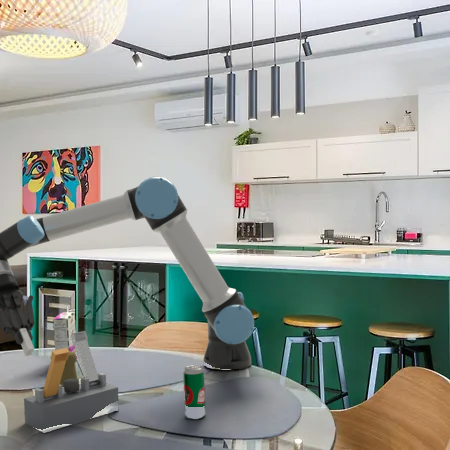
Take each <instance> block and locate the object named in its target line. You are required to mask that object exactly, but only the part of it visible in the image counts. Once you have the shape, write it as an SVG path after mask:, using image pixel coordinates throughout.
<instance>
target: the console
mask: <svg viewBox="0 0 450 450" xmlns="http://www.w3.org/2000/svg"><path fill="white" fill-rule="evenodd" d="M97 374H98V377H99V381H100V385H97V386H93V387H89V379H88V378H86V377H84V376H81V377H80V379H79V380H80V383H79V391H77V392H72V393H67V392H64V388H63V389H62V385H59V388H58V392H57V395H56V396H55V397H51V398H48V399H44V395H43V389H42V388H40V387H38V388H35V389H34V395H32V396H28V397H24V398H23V405H24V406H23V407H24V423H25V424H26V425H28V426H30V428H33V427H34V428H33V429H35V428H37V429H41V430H43V429H46V428H49V427H53V426H57V425H62V424H72V425H71V426H75V425H78V424H81V423H84V422H88V421H90V420H89V419H90V418H92V417H93V416H94V415H95V414H96V413H97V412H99V411H101V410H102V409H104V408H105V407H106V406H108V405H109V404H111V403H114V402H116V401H119V400H120V399H119V387H118V386H115V385H113V384H111V383H107V376H106V375H107V374H105V373H103V372H99V373H98V372H97ZM87 420H88V421H87Z"/></svg>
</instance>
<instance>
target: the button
mask: <svg viewBox="0 0 450 450" xmlns="http://www.w3.org/2000/svg"><path fill="white" fill-rule="evenodd" d="M79 384H80V379H79V378H78V379H67V380H65V381H64V392H67V393H72V392H77V391H79Z"/></svg>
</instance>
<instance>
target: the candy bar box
mask: <svg viewBox="0 0 450 450" xmlns="http://www.w3.org/2000/svg"><path fill="white" fill-rule="evenodd" d="M75 313H76V312H74V311H67V312H64V311H63V312H60V313H59V314H58V315H56V317H54V318H53V319H52V321H53V322H52V325H53V338H54V339H53V340H54V350H58V349H63V348H67V349H68V350H69V352H74V353H76V349H75V346H74V344H73V343H72V339H71V336H70V335H71V334H72V333H77V331H76V329H77V328H76V316H75Z"/></svg>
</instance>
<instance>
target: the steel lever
mask: <svg viewBox="0 0 450 450" xmlns="http://www.w3.org/2000/svg"><path fill="white" fill-rule="evenodd" d="M70 336H71V339H72V343H73V344H74V346H75V349H76V352H77V360H78V361H79V365H80V368H81V372H82V375H83V377H86V378H88V379H89V387H93V386H97V385H100V381H99V377H98V374H97V373H98V371H97V367H96V365H95V362H94V358H93V355H92V352H91V349H90V346H89V343H88V339H89V338H88V336H87V332H86V330H83V331H78V332H77V331H76V333H72V334H71V335H70Z"/></svg>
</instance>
